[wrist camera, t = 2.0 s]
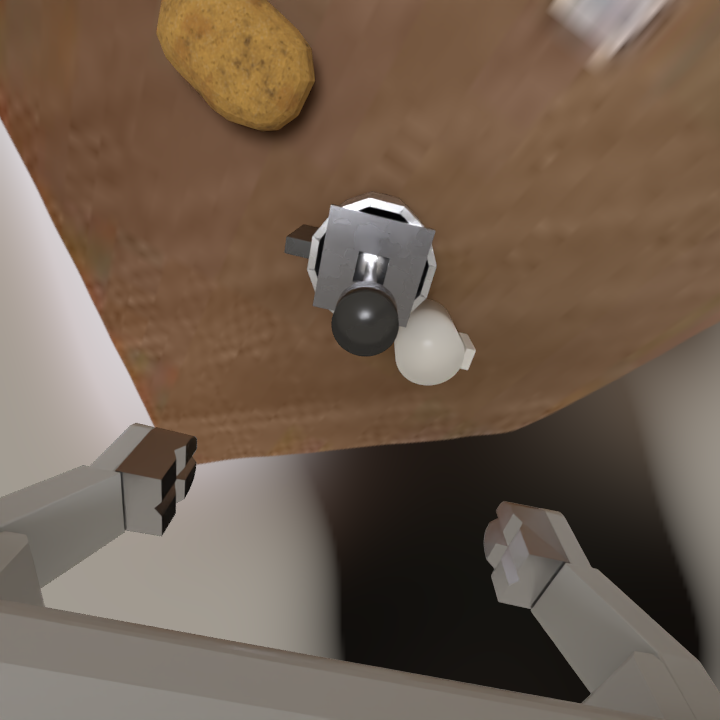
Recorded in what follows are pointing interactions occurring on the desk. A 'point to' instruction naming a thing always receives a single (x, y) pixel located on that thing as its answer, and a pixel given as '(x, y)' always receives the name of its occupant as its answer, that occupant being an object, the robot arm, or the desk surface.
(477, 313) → the desk surface
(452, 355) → the white ceramic cylinder
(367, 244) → the carafe
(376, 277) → the plunger
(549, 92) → the desk surface
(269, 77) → the potato
